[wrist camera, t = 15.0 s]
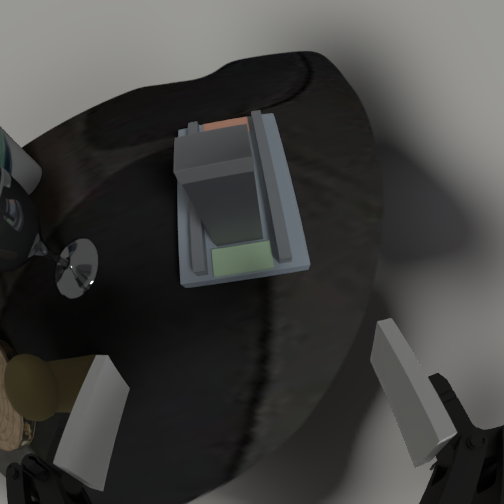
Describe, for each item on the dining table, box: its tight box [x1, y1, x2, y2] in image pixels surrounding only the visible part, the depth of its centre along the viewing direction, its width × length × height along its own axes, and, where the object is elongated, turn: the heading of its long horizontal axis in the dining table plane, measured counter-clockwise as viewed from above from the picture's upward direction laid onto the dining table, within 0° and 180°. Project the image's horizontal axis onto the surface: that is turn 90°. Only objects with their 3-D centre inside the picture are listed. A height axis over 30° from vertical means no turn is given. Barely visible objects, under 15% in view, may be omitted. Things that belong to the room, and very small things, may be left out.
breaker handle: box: [174, 124, 263, 246], centre depth 19 cm, size 2×4×11 cm, turn 98°
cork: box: [4, 354, 96, 421], centre depth 17 cm, size 6×6×11 cm
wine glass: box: [0, 166, 99, 299], centre depth 20 cm, size 8×8×15 cm
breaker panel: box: [177, 110, 310, 288], centre depth 26 cm, size 18×11×3 cm, turn 8°
